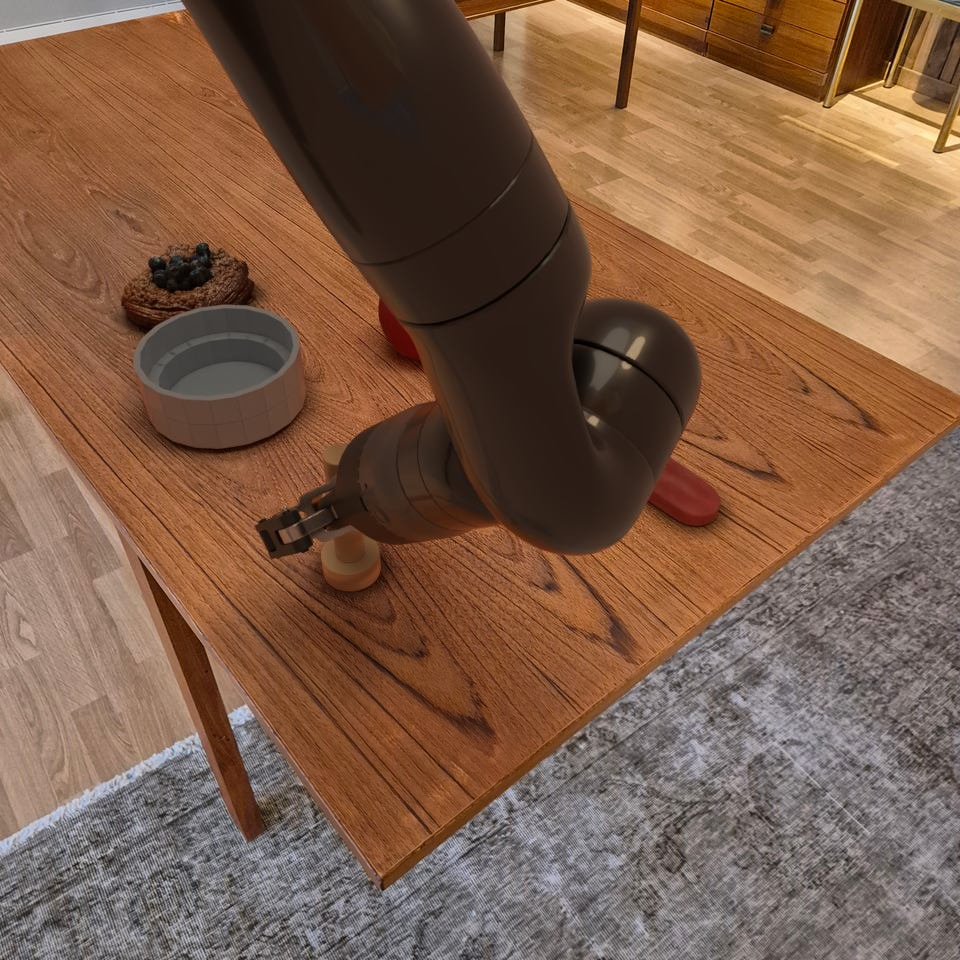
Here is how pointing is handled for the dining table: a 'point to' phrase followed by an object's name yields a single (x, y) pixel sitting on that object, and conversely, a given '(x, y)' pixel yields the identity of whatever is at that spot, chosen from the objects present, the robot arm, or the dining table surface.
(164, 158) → the dining table surface
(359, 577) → the peg on round base
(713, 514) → the popsicle
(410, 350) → the apple
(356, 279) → the dining table surface
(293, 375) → the bowl
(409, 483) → the robot arm
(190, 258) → the pastry
